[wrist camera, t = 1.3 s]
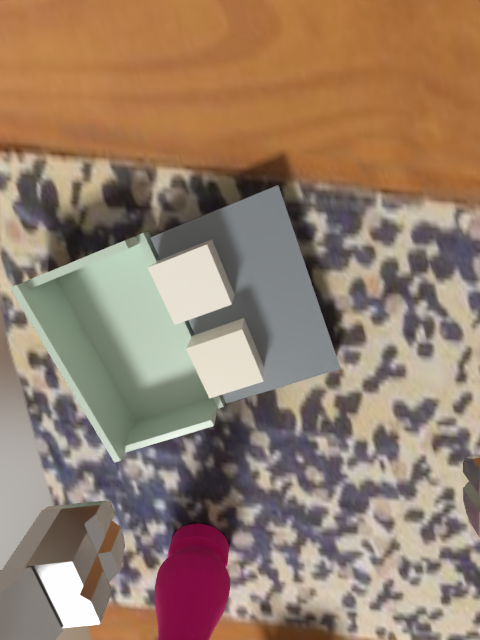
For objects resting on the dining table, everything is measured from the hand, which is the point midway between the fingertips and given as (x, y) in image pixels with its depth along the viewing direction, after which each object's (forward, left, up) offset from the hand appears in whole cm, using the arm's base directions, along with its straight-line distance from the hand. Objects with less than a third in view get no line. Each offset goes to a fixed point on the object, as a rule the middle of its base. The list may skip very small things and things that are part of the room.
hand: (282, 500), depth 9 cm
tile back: (+5, +4, -21) cm, 22 cm away
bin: (+12, +1, -23) cm, 26 cm away
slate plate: (+2, +1, -23) cm, 23 cm away
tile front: (+5, -2, -21) cm, 22 cm away
